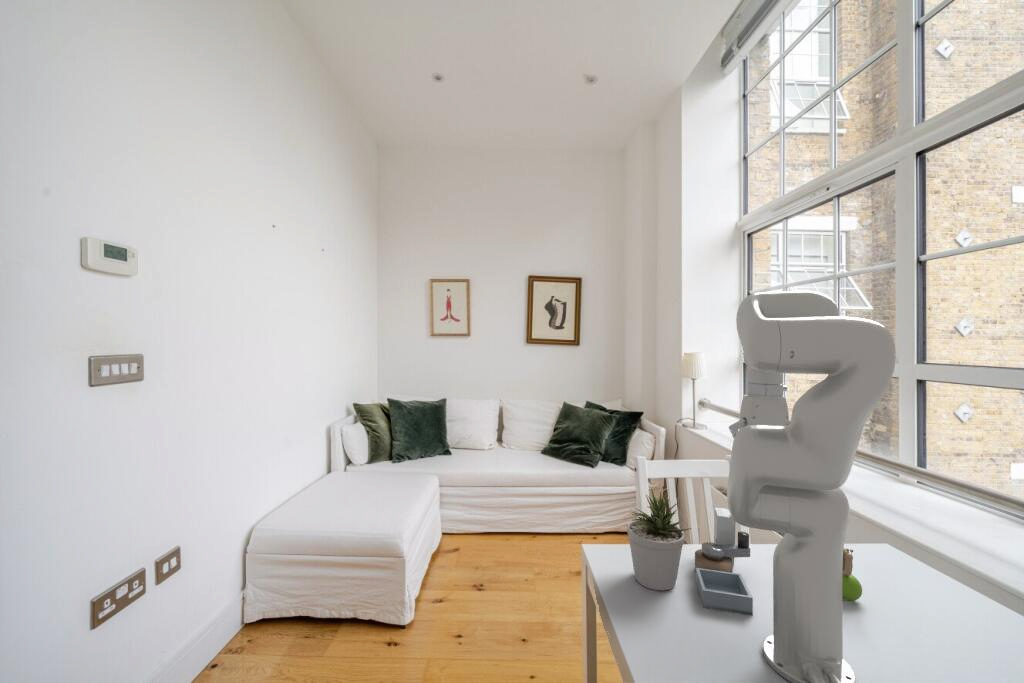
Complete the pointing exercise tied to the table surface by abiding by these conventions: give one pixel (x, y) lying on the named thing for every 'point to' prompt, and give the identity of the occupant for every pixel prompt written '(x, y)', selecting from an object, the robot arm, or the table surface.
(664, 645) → the table surface
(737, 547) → the crank
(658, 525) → the potted plant
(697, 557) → the crank pedestal
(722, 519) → the skincare box
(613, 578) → the table surface
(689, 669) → the table surface
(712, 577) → the tray
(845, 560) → the snail figurine
